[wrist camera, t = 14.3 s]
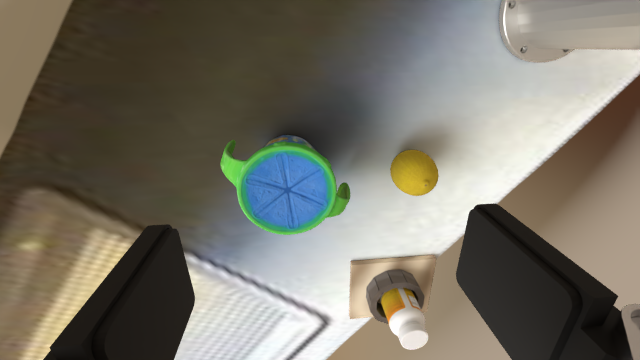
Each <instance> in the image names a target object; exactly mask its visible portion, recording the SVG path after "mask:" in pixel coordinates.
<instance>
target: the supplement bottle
mask: <svg viewBox="0 0 640 360" xmlns="http://www.w3.org/2000/svg"><path fill="white" fill-rule="evenodd" d="M380 301H381V304H382V306H383V309H384V312H385V315H386V317H387V320H388V323H389V326H390V328H391V330H392V332H393V333H394V334H395V335H397V336H398V337H399V340H400V342H401V345H402V346H403V347H404V348H406V349H409V350H413V349H418V348H420V347H422V346H424V344H426V343H427V341H428V334H427V332H426V329H425V328H424V326H425V317H424V315H423V312H422V311H421V309H420V307H419V304H418V302H417V300H416V298H415V296H414V294H413V292H412V290H410V289H408V288H405V287H404V288H393V289H391V290H389V291H387V292H385V293H383V295H382V296H381V297H380Z"/></svg>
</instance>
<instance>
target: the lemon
mask: <svg viewBox="0 0 640 360" xmlns="http://www.w3.org/2000/svg"><path fill="white" fill-rule="evenodd" d="M390 170H391V177H392V180H393V182H394V183H395V185H396V186H397V187H398V188H399V189H400V190H402V191H403V192H405V193H407V194H410V195H414V196H419V195H424V194H427V193H428V192H430V191H431V190H432V189H433V188H434V187H435V185H436V183H437V181H438V169H437V167H436V165H435V163H434V161H433V160H432V159H431V158H430V157H429V156H428V155H427V154H425V153H423V152H421V151H418V150H407V151H403V152H401V153H400V154H398V155H397V156H396V157H395V158H394V160H393V162H392V164H391V169H390Z"/></svg>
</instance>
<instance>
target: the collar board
mask: <svg viewBox="0 0 640 360" xmlns="http://www.w3.org/2000/svg"><path fill="white" fill-rule="evenodd" d="M435 264H436V257H435V256H434V255H426V256H412V257H399V258H385V259H372V260H358V261H351V272H350V305H349V316H350V319H355V318H366V317H375V319H377V320H378V321H381V322H384V323H387V324H389V323H388V320H387V317H386V315H385V312H384V309H383V306H382V304H381V301H380V297H381V296H382V295H383V293H385V292H387V291H389V290H391V289H393V288H404V287H405V288H408V289H410V290H412V292H413V294H414V296H415V298H416V300H417V302H418V304H419V307H420V309H421V311H422V312H427V309H428V303H429V298H430V292H431V286H432V281H433V274H434V269H435Z"/></svg>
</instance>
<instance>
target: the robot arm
mask: <svg viewBox="0 0 640 360" xmlns="http://www.w3.org/2000/svg"><path fill="white" fill-rule="evenodd" d="M508 4H509V5H508ZM499 26H500V33H501V36H502V40H503V42H504V43H505V45H506V47H507V49H508V50H509V51H510V52H511V53H512V54H513V55H514V56H516V57H518V58H519V59H521V60H524V61H527V62H549V61H553V60H556V59H559V58H561V57H563V56H565V55H567V54H568V53H570V52H572V51H573V50H575V49H621V50H640V0H502V2H501V6H500V14H499ZM456 277H457V282H458V284H459V285H460V287H461V288H462V290H463V291H464V292H465V294H466V295H467V297H468V298H469V300H470V301H471V302H472V304H473V305H474V307H475V308H476V310H477V311H478V312H479V314H480V315H481V317H482V318H483V319H484V321H485V322H486V324H487V325H488V326H489V328H490V329H491V331H492V332H493V334H494V335H495V336H496V338H497V339H498V341H499V342H500V344H501V345H502V346H503V348H504V349H505V351H506V352H507V353H508V355H509V356H510V358H511V359H512V360H640V304H631V305H626V306H625V307H624V308H623V309H622V310H621V311H619V310H618V309H617V308H616V307H614V306H613V305H614V303H615V301H616V299H617V297H618V296H617V295H616V294H615V293H613V292H612V291H611V290H610V289H608V288H607V287H606V286H604V285H603V284H602V283H600V282H599V281H597V280H596V279H595V278H594V277H592V276H591V275H590V274H589V273H587V272H586V271H585V270H583V269H582V268H581V267H579V266H578V265H577V264H575V263H574V262H573V261H571V260H570V259H569V258H567V257H566V256H565V255H564V254H562V253H561V252H560V251H558V250H557V249H556V248H554V247H553V246H552V245H550V244H549V243H548V242H546V241H545V240H544V239H543V238H541V237H540V236H539V235H537V234H536V233H535V232H533V231H532V230H531V229H529V228H528V227H527V226H525V225H524V224H523V223H521V222H520V221H519V220H517V219H516V218H515V217H514V216H512V215H511V214H510V213H508V212H507V211H506V210H504V209H503V208H502V207H500V206H499V205H497V204H480V205H476V206H475V207H474V209H472V210H471V211H470V213H469V216H468V221H467V226H466V230H465V235H464V240H463V245H462V249H461V253H460V258H459V263H458V267H457V272H456ZM194 302H195V295H194V291H193V287H192V283H191V279H190V275H189V272H188V268H187V264H186V260H185V256H184V252H183V248H182V245H181V241H180V237H179V233H178V231H177V229H172V227H171V226H170V225H152V226H147V227H146V228H145V230H144V231H143V232H142V233H141V235H140V236H139V237H138V238H137V240H136V241H135V242H134V243H133V245H132V246H131V247H130V248H129V249H128V251H127V252H126V253H125V254H124V256H123V257H122V258H121V259H120V261H119V262H118V263H117V264H116V266H115V267H114V268H113V269H112V271H111V272H110V273H109V274H108V276H107V277H106V278H105V279H104V281H103V282H102V283H101V284H100V286H99V287H98V288H97V289H96V291H95V292H94V293H93V294H92V296H91V297H90V298H89V299H88V300H87V302H86V303H85V304H84V305H83V307H82V308H81V309H80V310H79V312H78V313H77V314H76V315H75V317H74V318H73V319H72V320H71V322H70V323H69V324H68V325H67V327H66V328H65V329H64V330H63V332H62V333H61V334H60V335H59V337H58V338H57V339H56V340H55V342H54V343H53V344H52V345H51V346H50V349H51V351H50V352H49V353H48V354H47V356H46V357H45V358H44V359H43V360H174V358H175V355H176V352H177V350H178V347H179V344H180V342H181V339H182V336H183V334H184V331H185V328H186V326H187V323H188V320H189V318H190V315H191V312H192V310H193V307H194Z"/></svg>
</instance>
